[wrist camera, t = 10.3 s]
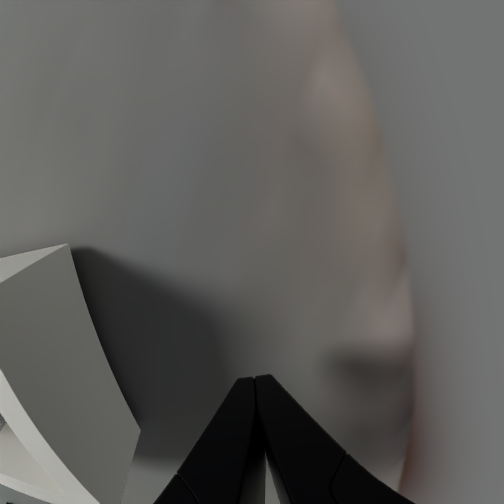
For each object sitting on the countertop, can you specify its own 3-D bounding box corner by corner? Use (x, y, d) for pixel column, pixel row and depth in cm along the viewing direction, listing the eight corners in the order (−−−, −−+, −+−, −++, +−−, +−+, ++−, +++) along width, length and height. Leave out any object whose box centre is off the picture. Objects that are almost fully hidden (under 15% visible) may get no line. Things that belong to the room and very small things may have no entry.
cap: (140, 430, 10) (116, 519, 6) (33, 419, 10) (-4, 481, 6) (68, 243, 8) (-29, 302, 4) (-37, 267, 8) (-110, 310, 4)
